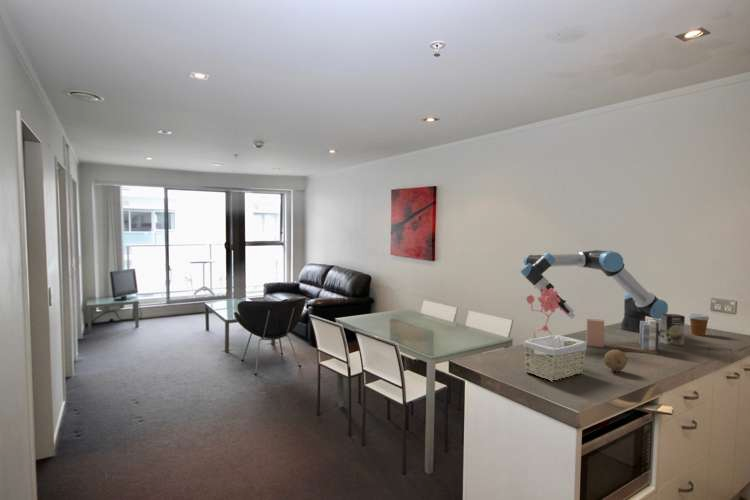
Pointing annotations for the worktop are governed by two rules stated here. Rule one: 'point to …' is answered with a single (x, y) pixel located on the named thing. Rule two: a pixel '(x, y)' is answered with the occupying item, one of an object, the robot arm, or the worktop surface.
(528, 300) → the figurine
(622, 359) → the natural sponge
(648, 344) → the book rack
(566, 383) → the worktop surface
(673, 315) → the coffee box
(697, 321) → the disposable coffee cup
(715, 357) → the worktop surface
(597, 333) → the terracotta book
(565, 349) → the storage basket
